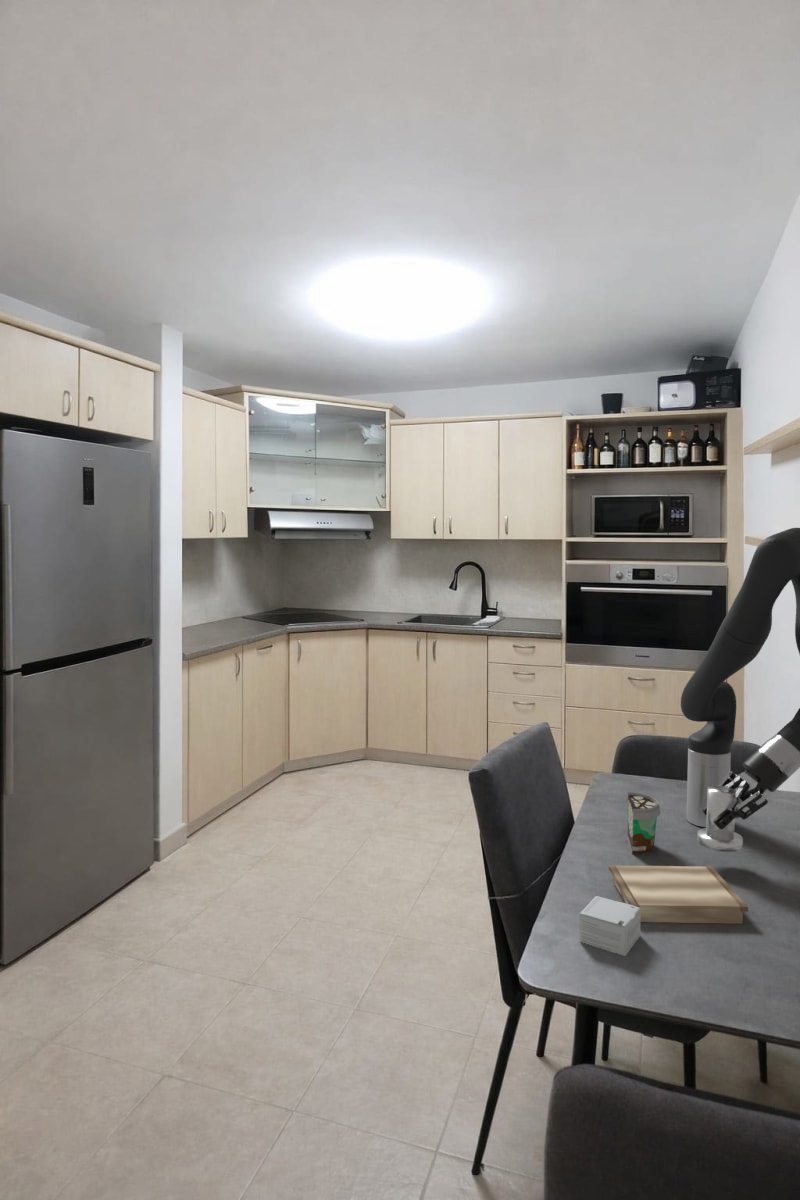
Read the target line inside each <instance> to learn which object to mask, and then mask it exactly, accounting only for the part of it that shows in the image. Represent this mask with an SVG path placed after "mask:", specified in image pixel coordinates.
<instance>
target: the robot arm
mask: <svg viewBox="0 0 800 1200" xmlns="http://www.w3.org/2000/svg"><path fill="white" fill-rule="evenodd" d="M789 582H791V584H792V586H793V590H794V595H795V620H794V621H795V623H794V635H795V644H796V648H797V651H798V654H799V655H800V527H791V528H789V529H786V530H782V531H780V532H778V533H774V534H772V535H769V536H768V537H766V538H765V539H763V540H762V541H761V542H760V543H759V544H758V545H757V547H756V549H755V551H754V554H753V556H752V558H751V561H750V564H749V567H748V570H747V572H746V574H745V578H744V580H743V582H742V585H741V587H740V589H739V591H738V593H737V595H736V596H735V598H734V600H733V601H732V604H731V606H730V608H729V610H728V612H727V613H726V615H725V617H724V619H723V621H722V623H721V624H720V626H719V628H718V631H717V632H716V635H715V637H714V639H713V641H712V643H711V645H710V646H709V649H708V650H707V652H706V654H705V655H704V657H703V659H702V661H701V663H699V666H698V667H697V668H696V670H695V671H694V673H693V674H692V675H691V677H690V678H689V680H688V681H687V683H686V684H685V686H684V688H683V691H682V693H681V696H680V709H681V712H682V715H683V716H684V717H685V718H686V719H688V720H689V721H691V722H698V723H699V722H702V723H704V722H706V724H705V725H704V726H703V727H701V729H698V730H697V731H695V732H693V733H691V734H690V735H689V736H688V740H687V779H686V780H687V781H686V782H687V785H686V786H687V787H686V815H685V817H686V821H688V823H690V824H693V825H694V826H699V827H701V828H706V820H707V790H708V787H709V786H725V787H729V788H732V789H734V790H735V791H736V793H735V795H734V796H733V801H732V803H731V804H730V805H729V807H728V810H727V809H726V810H724V811H723V812H722V813H721V814H720V815H719V816H718V817H717V818H716V819H715V820H714V821H713V822H714V824H715V825H716V826H717V827H718V828H719V829H721V830H722V829H724V828H725V827H726V826H727V825H728V824H729V823H730V822H731V821H732V820H734V819H735V820H736V819H739V818H741V820H747V818H749V817H750V816H752V815H754V814H755V813H756V812H758V811H759V810H761V809H762V808H764V806H766V805H768V804H769V801H768V799H767V798H766V797H765V796H764V794H765V792H766V791H768V792H770V793H773V792H775V791H776V790H777V789H778V788H780V787H781V786H782V785H783V784H784V783H785V782H786V781H787V780H789V778H790V777H791V776H793V774H795V773H796V772H797V771H798V770H799V769H800V707H799V708H798V710H797V711H796V713H795V714H794V716H793V718H792V719H791V720H790V721H789V722H788V723H786V725H784V726H783V727H782V728H781V729H780V730H779V731H778V732H777V733H775V734H774V735H772V737H770V738H768V739H767V740H766V741H765V742H764V743H763V744H762V745H761V746H760V747H759V748H757V749H756V750H755V751H754V752H753V753H752V754H751V755H750V756H749V757H748V758H746V759H745V760H744V762H742V767H743V768H744V770H743V771H742V772H741V773H739V774H735V773H734V771H732V770H731V757H732V756H731V755H732V754H731V753H732V752H731V751H732V745H733V742H734V739H735V730H736V718H737V696H736V693H735V692H736V691H735V690H734V688H733V686H732V685H731V683H730V684H729V683H728V682H726V680H727V679H729V678H730V677H731V676H733V675H734V674H736V673H738V672H739V671H740V670H742V669H743V668H744V667H746V666H747V665H748V664H750V663H751V662H752V661H753V660H754V659H755V658H756V657H757V656H758V655H759V653H760V651H761V650H762V648H763V646H764V644H765V643H766V641H767V639H768V637H769V635H770V633H771V630H772V625H773V609H774V606H775V603H776V601H777V599H779V596H780V594H781V593H782V592H783V590H784V588H786V586H787V584H789Z"/></svg>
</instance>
